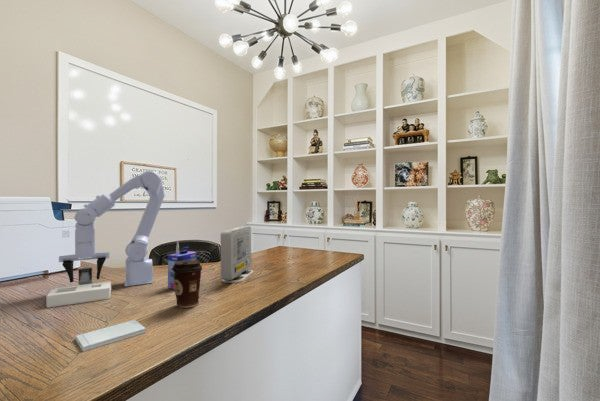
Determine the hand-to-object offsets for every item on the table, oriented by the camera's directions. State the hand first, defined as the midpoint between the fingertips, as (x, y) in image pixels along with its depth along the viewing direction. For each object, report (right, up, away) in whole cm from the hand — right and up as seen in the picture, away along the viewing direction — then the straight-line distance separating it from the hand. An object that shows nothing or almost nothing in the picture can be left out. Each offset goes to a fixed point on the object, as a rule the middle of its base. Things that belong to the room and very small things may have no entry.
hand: (85, 280), depth 107 cm
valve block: (+5, -4, -9) cm, 11 cm away
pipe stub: (0, -4, 0) cm, 4 cm away
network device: (+51, -3, +18) cm, 54 cm away
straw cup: (+33, -4, +5) cm, 34 cm away
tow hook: (+18, -4, +41) cm, 45 cm away
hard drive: (+33, -4, -37) cm, 49 cm away
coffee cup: (+43, -3, -16) cm, 46 cm away
